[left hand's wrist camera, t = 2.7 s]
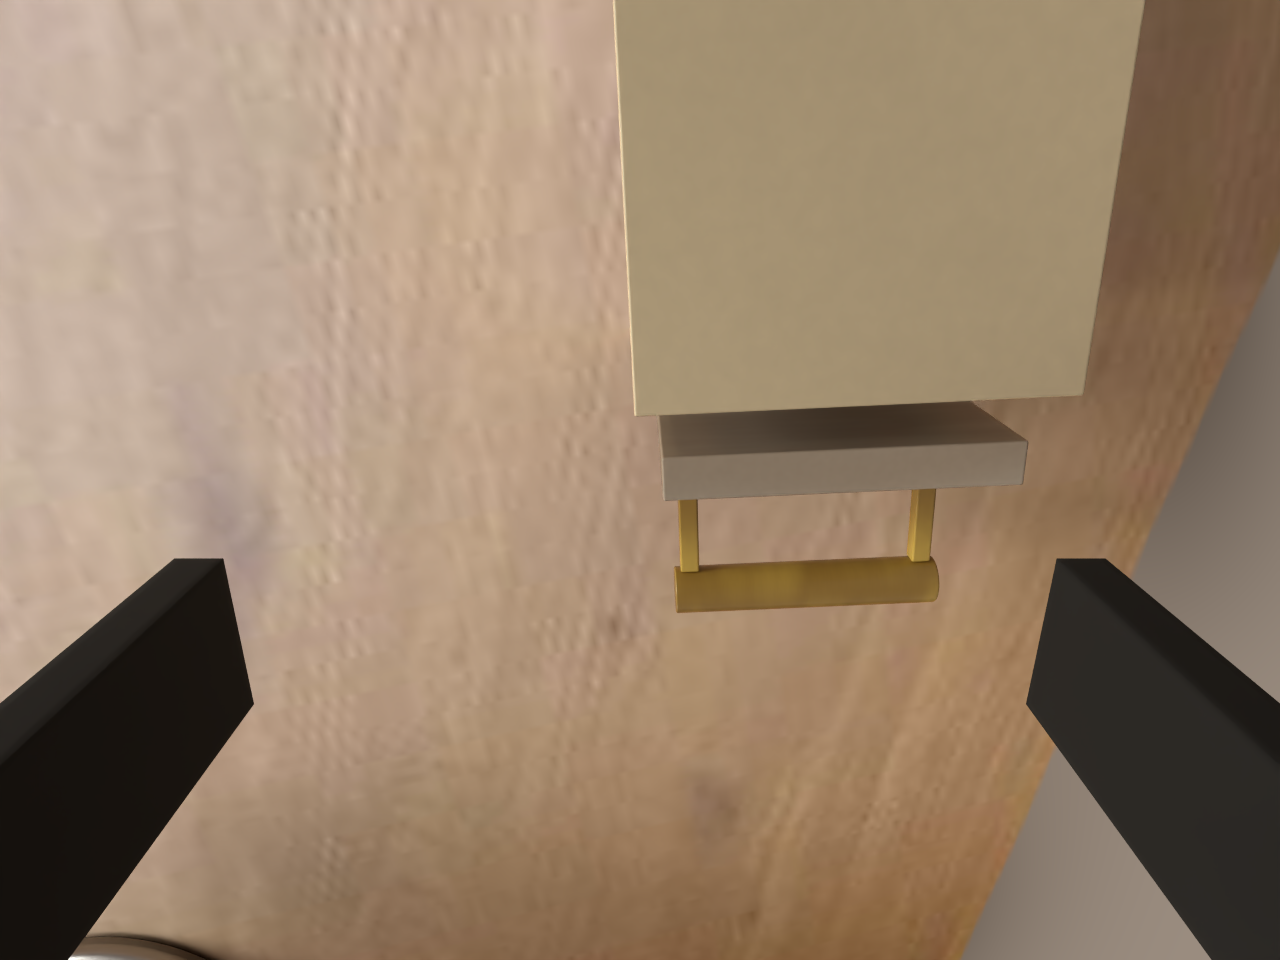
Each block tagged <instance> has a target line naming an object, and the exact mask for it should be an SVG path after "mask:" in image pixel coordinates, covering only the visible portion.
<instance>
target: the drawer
mask: <svg viewBox="0 0 1280 960" xmlns="http://www.w3.org/2000/svg"><path fill="white" fill-rule="evenodd" d="M656 417H657V430H658V442H659V455H660V468H661V480H662V493H663V500H664V501H673V500H678V517H679V547H680V566H675V567H674V586H675V604H676V612H677V613H689V612H712V611H735V610H758V609H781V608H804V607H827V606H850V605H873V604H896V603H919V602H934V601H935V600H936V599H937V597H938V592H939V575H938V569H937V566H936V563H935V561H934V559H933V558H932V557H931V556H930V550H931V540H932V529H933V518H934V507H935V497H936V489H937V488H959V487H981V486H1003V485H1021V484H1023V478H1024V471H1025V463H1026V456H1027V449H1028V441H1027V440H1026V439H1024V438H1023V437H1021V436H1020V435H1019V434H1017V433H1016V432H1014V431H1013V430H1011V429H1010V428H1008V427H1007V426H1005V425H1004V424H1003V423H1001V422H1000V421H998V420H997V419H995V418H994V417H992V416H991V415H989V414H988V413H986V412H985V411H984V410H982V409H981V408H979V407H978V406H976V405H975V404H973V403H972V402H970V401H958V402H937V403H915V404H894V405H873V406H852V407H830V408H809V409H788V410H767V411H745V412H724V413H703V414H681V415H660V416H656ZM893 490H912V496H911V508H910V520H909V533H908V545H907V555H908V556H898V557H876V558H853V559H831V560H808V561H786V562H763V563H740V564H718V565H699V541H698V499H717V498H739V497H761V496H783V495H805V494H827V493H849V492H871V491H893Z"/></svg>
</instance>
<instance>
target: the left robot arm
mask: <svg viewBox="0 0 1280 960" xmlns="http://www.w3.org/2000/svg"><path fill="white" fill-rule="evenodd" d="M253 705H254V702H253V698H252V693H251V688H250V683H249V679H248V674H247V669H246V664H245V660H244V655H243V650H242V645H241V641H240V636H239V631H238V626H237V622H236V617H235V612H234V607H233V603H232V598H231V593H230V588H229V584H228V579H227V574H226V570H225V565H224V560H223V559H173V560H172V561H171V562H170V563H169V564H167V565H166V566H165V567H164V568H163V569H161V570H160V571H159V572H158V573H157V574H155V575H154V576H153V577H152V578H151V579H149V580H148V581H147V582H146V583H145V584H143V585H142V586H141V587H140V588H139V589H137V590H136V591H135V592H134V593H133V594H131V595H130V596H129V597H128V598H127V599H125V600H124V601H123V602H122V603H120V604H119V605H118V606H117V607H116V608H114V609H113V610H112V611H111V612H110V613H108V614H107V615H106V616H105V617H104V618H102V619H101V620H100V621H99V622H98V623H96V624H95V625H94V626H93V627H92V628H90V629H89V630H88V631H87V632H86V633H84V634H83V635H82V636H81V637H80V638H78V639H77V640H76V641H75V642H74V643H72V644H71V645H70V646H69V647H68V648H66V649H65V650H64V651H63V652H62V653H60V654H59V655H58V656H57V657H55V658H54V659H53V660H52V661H51V662H49V663H48V664H47V665H46V666H45V667H43V668H42V669H41V670H40V671H39V672H37V673H36V674H35V675H34V676H33V677H31V678H30V679H29V680H28V681H27V682H25V683H24V684H23V685H22V686H21V687H19V688H18V689H17V690H16V691H15V692H13V693H12V694H11V695H10V696H9V697H7V698H6V699H5V700H4V701H3V702H1V703H0V960H205V959H203V958H201V957H199V956H196V955H194V954H192V953H189V952H186V951H184V950H181V949H178V948H174V947H171V946H168V945H164V944H160V943H156V942H151V941H146V940H140V939H132V938H123V937H88V938H85V936H86V935H87V933H88V932H89V931H90V929H91V928H92V926H93V925H94V924H95V922H96V921H97V920H98V918H99V917H100V915H101V914H102V913H103V911H104V910H105V909H106V907H107V906H108V904H109V903H110V902H111V900H112V899H113V898H114V896H115V895H116V893H117V892H118V891H119V889H120V888H121V887H122V885H123V884H124V882H125V881H126V880H127V878H128V877H129V875H130V874H131V873H132V871H133V870H134V869H135V867H136V866H137V864H138V863H139V862H140V860H141V859H142V858H143V856H144V855H145V853H146V852H147V851H148V849H149V848H150V847H151V845H152V844H153V842H154V841H155V840H156V838H157V837H158V836H159V834H160V833H161V831H162V830H163V829H164V827H165V826H166V824H167V823H168V822H169V820H170V819H171V818H172V816H173V815H174V813H175V812H176V811H177V809H178V808H179V807H180V805H181V804H182V802H183V801H184V800H185V798H186V797H187V796H188V794H189V793H190V791H191V790H192V789H193V787H194V786H195V785H196V783H197V782H198V780H199V779H200V778H201V776H202V775H203V774H204V772H205V771H206V769H207V768H208V767H209V765H210V764H211V762H212V761H213V760H214V758H215V757H216V756H217V754H218V753H219V751H220V750H221V749H222V747H223V746H224V745H225V743H226V742H227V740H228V739H229V738H230V736H231V735H232V734H233V732H234V731H235V729H236V728H237V727H238V725H239V724H240V723H241V721H242V720H243V718H244V717H245V716H246V714H247V713H248V711H249V710H250V709H251V707H252V706H253ZM1026 705H1027V706H1028V707H1029V709H1030V710H1031V711H1032V713H1033V714H1034V716H1035V717H1036V718H1037V720H1038V721H1039V723H1040V724H1041V725H1042V727H1043V728H1044V729H1045V731H1046V732H1047V734H1048V735H1049V736H1050V738H1051V739H1052V740H1053V742H1054V743H1055V745H1056V746H1057V747H1058V749H1059V750H1060V751H1061V753H1062V754H1063V755H1064V757H1065V758H1066V760H1067V761H1068V762H1069V764H1070V765H1071V767H1072V768H1073V769H1074V771H1075V772H1076V773H1077V775H1078V776H1079V778H1080V779H1081V780H1082V782H1083V783H1084V784H1085V786H1086V787H1087V789H1088V790H1089V791H1090V793H1091V794H1092V795H1093V797H1094V798H1095V800H1096V801H1097V802H1098V804H1099V805H1100V807H1101V808H1102V809H1103V811H1104V812H1105V813H1106V815H1107V816H1108V817H1109V819H1110V820H1111V822H1112V823H1113V824H1114V826H1115V827H1116V829H1117V830H1118V831H1119V833H1120V834H1121V836H1122V837H1123V838H1124V840H1125V841H1126V842H1127V844H1128V845H1129V846H1130V848H1131V849H1132V851H1133V852H1134V853H1135V855H1136V856H1137V858H1138V859H1139V860H1140V862H1141V863H1142V864H1143V866H1144V867H1145V869H1146V870H1147V871H1148V873H1149V874H1150V875H1151V877H1152V878H1153V880H1154V881H1155V882H1156V884H1157V885H1158V887H1159V888H1160V889H1161V891H1162V892H1163V893H1164V895H1165V896H1166V897H1167V899H1168V900H1169V902H1170V903H1171V904H1172V906H1173V907H1174V909H1175V910H1176V911H1177V913H1178V914H1179V915H1180V917H1181V918H1182V920H1183V921H1184V922H1185V924H1186V925H1187V926H1188V928H1189V929H1190V931H1191V932H1192V933H1193V935H1194V936H1195V938H1196V939H1197V940H1198V942H1199V943H1200V944H1201V946H1202V947H1203V949H1204V950H1205V951H1206V953H1207V954H1208V955H1209V957H1210V958H1211V960H1280V703H1279V702H1277V701H1276V700H1275V699H1274V698H1273V697H1271V696H1270V695H1269V694H1268V693H1267V692H1265V691H1264V690H1263V689H1262V688H1261V687H1259V686H1258V685H1257V684H1256V683H1255V682H1253V681H1252V680H1251V679H1250V678H1249V677H1247V676H1246V675H1245V674H1244V673H1243V672H1241V671H1240V670H1239V669H1238V668H1236V667H1235V666H1234V665H1233V664H1232V663H1231V662H1229V661H1228V660H1227V659H1226V658H1224V657H1223V656H1222V655H1221V654H1220V653H1218V652H1217V651H1216V650H1215V649H1214V648H1212V647H1211V646H1210V645H1209V644H1208V643H1206V642H1205V641H1204V640H1203V639H1202V638H1200V637H1199V636H1198V635H1197V634H1196V633H1194V632H1193V631H1192V630H1191V629H1190V628H1188V627H1187V626H1186V625H1185V624H1184V623H1182V622H1181V621H1180V620H1179V619H1178V618H1176V617H1175V616H1174V615H1173V614H1171V613H1170V612H1169V611H1168V610H1167V609H1165V608H1164V607H1163V606H1162V605H1161V604H1160V603H1158V602H1157V601H1156V600H1155V599H1153V598H1152V597H1151V596H1150V595H1149V594H1147V593H1146V592H1145V591H1144V590H1143V589H1141V588H1140V587H1139V586H1138V585H1137V584H1135V583H1134V582H1133V581H1132V580H1131V579H1129V578H1128V577H1127V576H1126V575H1125V574H1123V573H1122V572H1121V571H1120V570H1119V569H1117V568H1116V567H1115V566H1114V565H1113V564H1111V563H1110V562H1109V561H1108V560H1107V559H1057V560H1056V565H1055V570H1054V574H1053V579H1052V584H1051V588H1050V593H1049V598H1048V603H1047V607H1046V612H1045V617H1044V622H1043V626H1042V631H1041V636H1040V641H1039V645H1038V650H1037V655H1036V660H1035V664H1034V669H1033V674H1032V679H1031V683H1030V688H1029V693H1028V698H1027V702H1026Z"/></svg>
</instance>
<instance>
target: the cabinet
mask: <svg viewBox="0 0 1280 960" xmlns="http://www.w3.org/2000/svg"><path fill="white" fill-rule="evenodd" d="M1145 1H1146V0H613V14H614V33H615V52H616V71H617V90H618V110H619V129H620V148H621V167H622V186H623V205H624V224H625V243H626V262H627V282H628V301H629V320H630V339H631V358H632V377H633V396H634V414H635V416H637V417H639V416H660V415H681V414H703V413H724V412H745V411H767V410H788V409H809V408H830V407H852V406H873V405H894V404H915V403H937V402H958V401H979V400H1001V399H1022V398H1043V397H1064V396H1081V395H1083V394H1084V389H1085V382H1086V376H1087V370H1088V363H1089V357H1090V351H1091V344H1092V338H1093V332H1094V325H1095V319H1096V313H1097V306H1098V300H1099V293H1100V287H1101V281H1102V274H1103V268H1104V262H1105V255H1106V249H1107V243H1108V236H1109V230H1110V224H1111V217H1112V211H1113V205H1114V198H1115V192H1116V186H1117V179H1118V173H1119V166H1120V160H1121V154H1122V147H1123V141H1124V135H1125V128H1126V122H1127V116H1128V109H1129V103H1130V97H1131V90H1132V84H1133V78H1134V71H1135V65H1136V59H1137V52H1138V46H1139V39H1140V33H1141V27H1142V20H1143V14H1144V8H1145Z"/></svg>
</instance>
